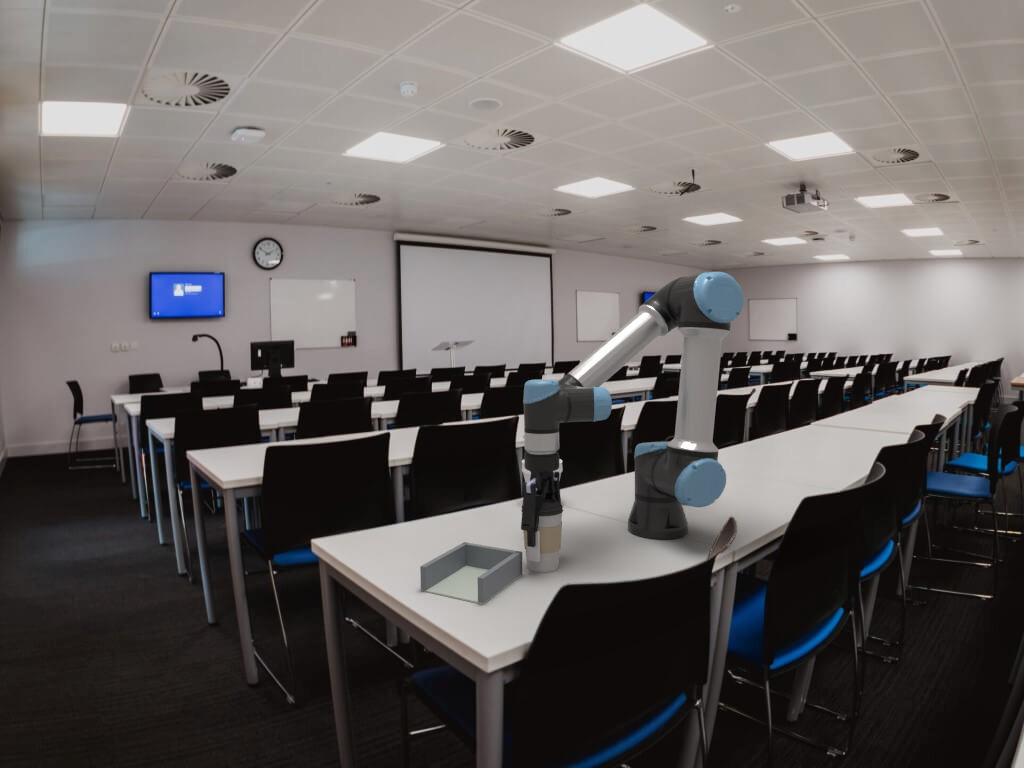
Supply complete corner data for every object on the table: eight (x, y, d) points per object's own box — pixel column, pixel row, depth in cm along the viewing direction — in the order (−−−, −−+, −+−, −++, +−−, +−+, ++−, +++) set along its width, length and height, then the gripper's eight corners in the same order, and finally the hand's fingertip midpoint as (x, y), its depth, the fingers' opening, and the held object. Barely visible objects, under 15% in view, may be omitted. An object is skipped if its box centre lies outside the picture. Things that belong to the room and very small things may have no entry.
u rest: (522, 575, 128) (522, 551, 128) (483, 604, 114) (483, 578, 114) (464, 564, 135) (464, 542, 135) (420, 590, 121) (420, 566, 120)
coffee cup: (520, 560, 137) (519, 494, 136) (559, 558, 138) (559, 493, 137) (524, 575, 128) (523, 505, 127) (566, 573, 129) (566, 503, 128)
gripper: (546, 442, 142) (547, 537, 144) (502, 458, 124) (504, 567, 125) (576, 444, 139) (576, 541, 140) (536, 461, 120) (537, 573, 122)
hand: (542, 553), depth 133 cm, fingers closed on coffee cup, 8 cm apart
